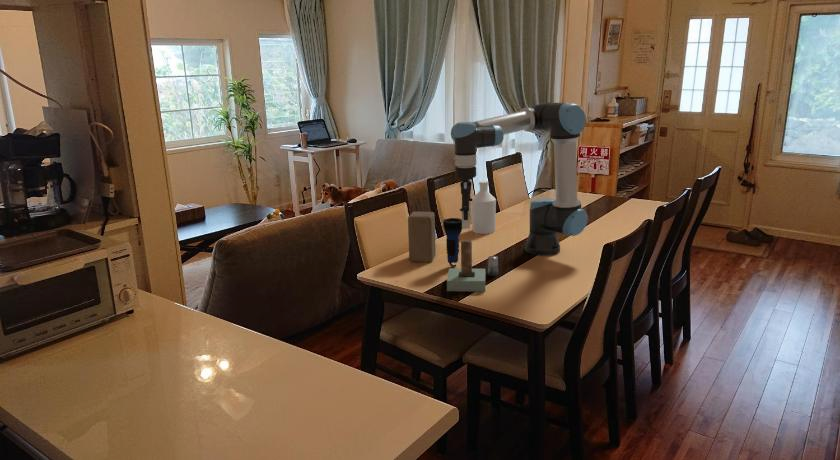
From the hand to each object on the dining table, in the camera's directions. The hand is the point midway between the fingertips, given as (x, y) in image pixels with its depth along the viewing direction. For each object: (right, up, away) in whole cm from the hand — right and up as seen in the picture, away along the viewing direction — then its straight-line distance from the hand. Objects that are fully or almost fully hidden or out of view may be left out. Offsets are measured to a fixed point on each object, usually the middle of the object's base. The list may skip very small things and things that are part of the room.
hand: (466, 223), depth 218 cm
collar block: (+1, -23, +6) cm, 24 cm away
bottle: (+15, -3, +79) cm, 81 cm away
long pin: (+1, -23, +6) cm, 24 cm away
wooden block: (-16, -15, +38) cm, 44 cm away
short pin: (+12, -20, +17) cm, 28 cm away
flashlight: (-3, -18, +26) cm, 32 cm away
